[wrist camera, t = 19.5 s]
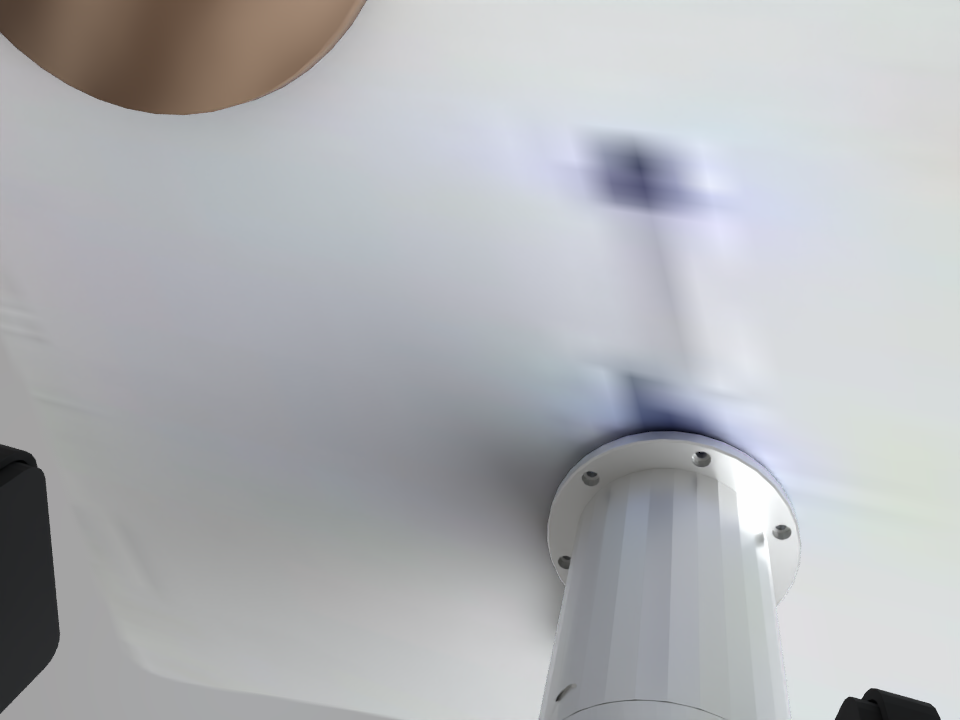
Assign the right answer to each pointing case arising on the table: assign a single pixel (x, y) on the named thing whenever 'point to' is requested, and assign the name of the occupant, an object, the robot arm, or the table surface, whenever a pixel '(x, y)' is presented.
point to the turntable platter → (176, 47)
